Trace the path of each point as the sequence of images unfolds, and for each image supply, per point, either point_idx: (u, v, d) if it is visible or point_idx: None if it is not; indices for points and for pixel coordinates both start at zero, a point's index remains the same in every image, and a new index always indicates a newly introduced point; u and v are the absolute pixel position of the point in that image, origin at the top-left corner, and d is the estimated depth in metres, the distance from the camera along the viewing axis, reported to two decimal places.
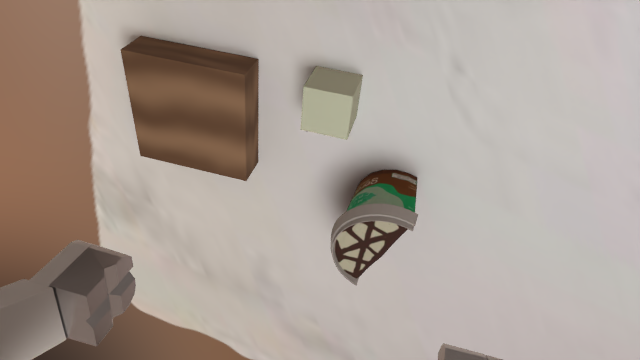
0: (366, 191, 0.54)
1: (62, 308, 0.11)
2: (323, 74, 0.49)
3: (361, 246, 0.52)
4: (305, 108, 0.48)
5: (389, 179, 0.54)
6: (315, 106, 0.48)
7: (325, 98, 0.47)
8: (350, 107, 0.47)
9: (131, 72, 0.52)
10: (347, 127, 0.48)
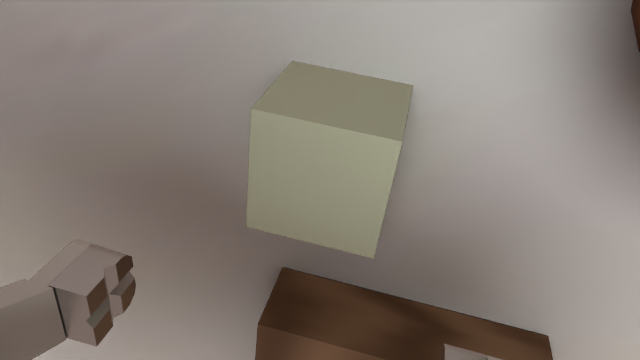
0: None
1: (62, 308, 0.11)
2: None
3: None
4: (306, 234, 0.18)
5: None
6: (296, 210, 0.17)
7: (270, 181, 0.17)
8: (286, 119, 0.16)
9: None
10: (356, 135, 0.15)
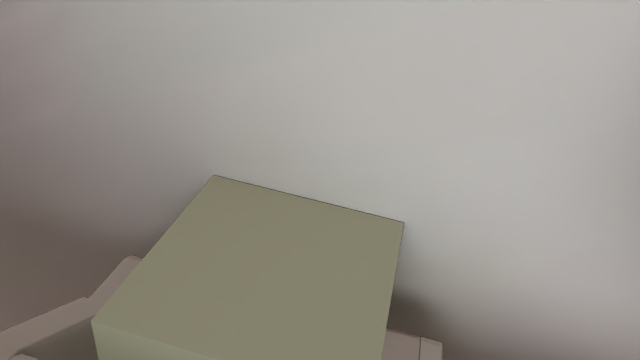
0: None
1: None
2: None
3: None
4: None
5: None
6: None
7: None
8: (155, 344, 0.08)
9: None
10: None
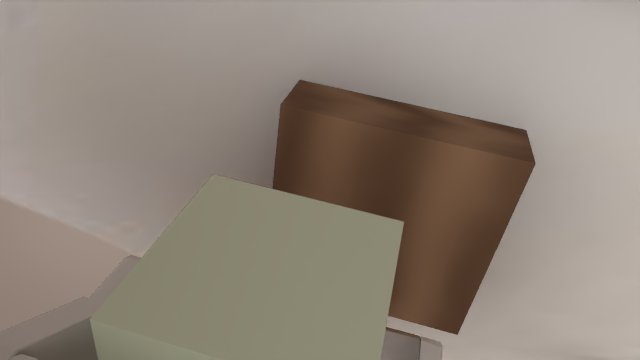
0: None
1: None
2: None
3: None
4: None
5: None
6: None
7: None
8: (154, 343, 0.08)
9: None
10: None
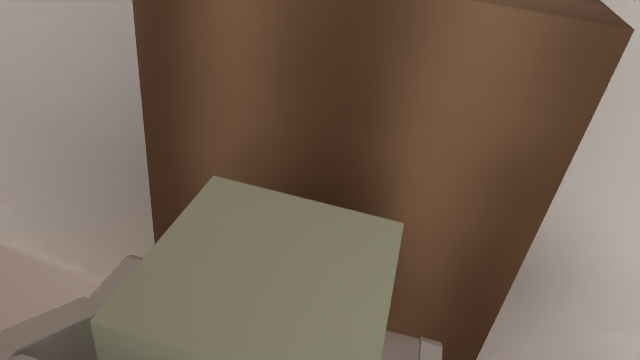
0: None
1: None
2: None
3: None
4: None
5: None
6: None
7: None
8: (154, 345, 0.08)
9: None
10: None
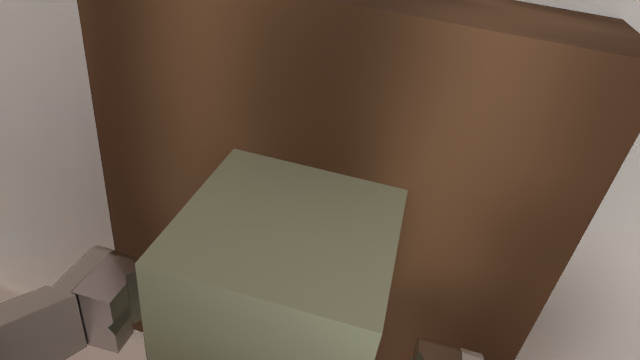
0: None
1: (84, 315, 0.11)
2: None
3: None
4: None
5: None
6: None
7: (178, 359, 0.11)
8: (191, 283, 0.09)
9: None
10: (305, 316, 0.09)
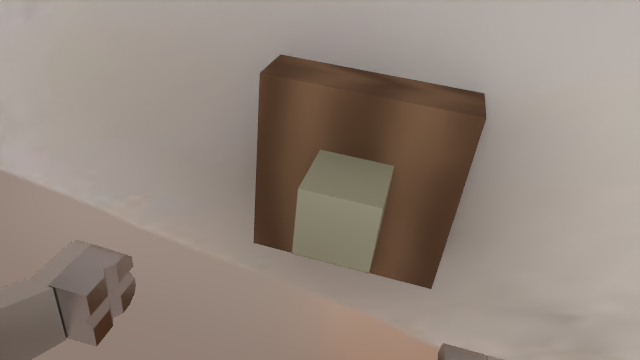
0: None
1: (62, 308, 0.11)
2: None
3: None
4: (328, 258, 0.30)
5: None
6: (323, 244, 0.29)
7: (307, 227, 0.29)
8: (318, 194, 0.28)
9: (284, 242, 0.37)
10: (357, 204, 0.27)
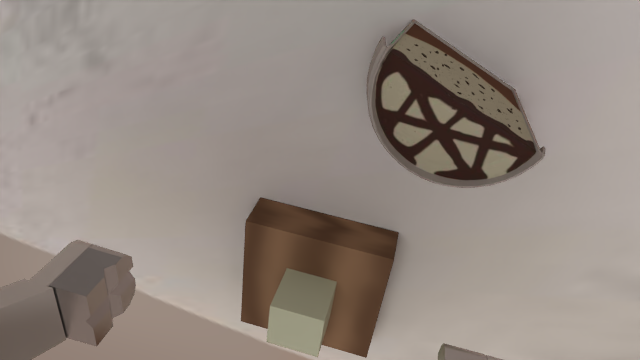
0: None
1: (62, 308, 0.11)
2: None
3: (446, 135, 0.30)
4: (291, 346, 0.45)
5: None
6: (287, 338, 0.44)
7: (276, 328, 0.44)
8: (283, 310, 0.42)
9: (263, 322, 0.52)
10: (308, 317, 0.42)
